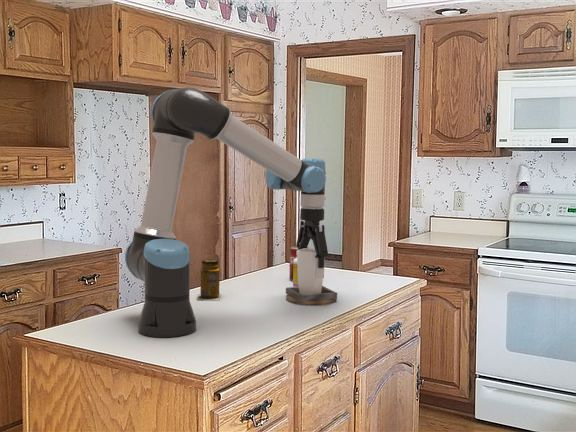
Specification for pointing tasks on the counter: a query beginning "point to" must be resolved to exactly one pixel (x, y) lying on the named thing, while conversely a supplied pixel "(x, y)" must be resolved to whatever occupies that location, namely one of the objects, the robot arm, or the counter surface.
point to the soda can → (292, 257)
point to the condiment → (209, 280)
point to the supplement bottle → (295, 273)
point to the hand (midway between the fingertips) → (310, 274)
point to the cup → (307, 272)
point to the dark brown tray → (310, 297)
